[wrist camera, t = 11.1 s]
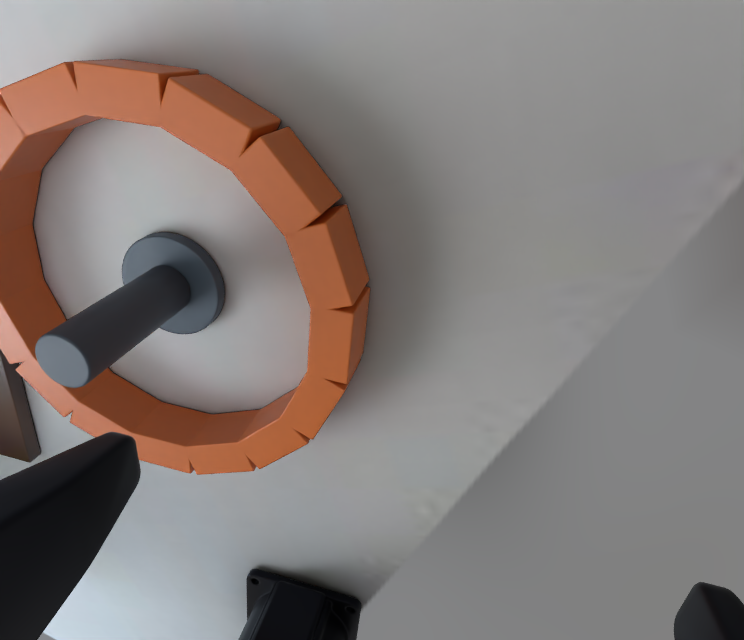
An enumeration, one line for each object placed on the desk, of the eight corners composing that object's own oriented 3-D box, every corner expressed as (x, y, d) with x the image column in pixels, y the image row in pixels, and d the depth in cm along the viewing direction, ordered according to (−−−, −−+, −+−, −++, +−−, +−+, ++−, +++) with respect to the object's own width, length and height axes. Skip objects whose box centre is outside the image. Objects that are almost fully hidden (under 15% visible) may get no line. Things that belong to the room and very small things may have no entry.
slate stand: (226, 337, 23) (132, 432, 18) (135, 317, 24) (16, 402, 18) (223, 242, 21) (115, 315, 16) (124, 223, 22) (-15, 285, 16)
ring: (349, 474, 25) (334, 513, 23) (43, 395, 28) (5, 424, 26) (392, 96, 17) (374, 103, 15) (-42, 36, 20) (-107, 35, 18)
